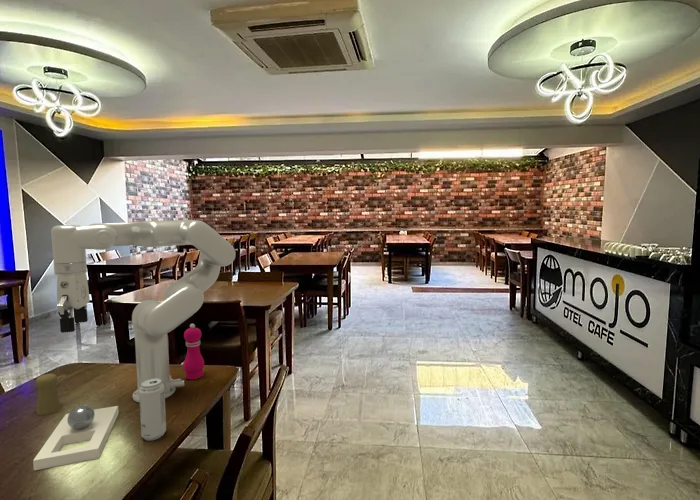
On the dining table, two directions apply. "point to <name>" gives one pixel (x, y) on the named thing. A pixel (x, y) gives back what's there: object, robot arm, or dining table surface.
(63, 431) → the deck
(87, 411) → the ball
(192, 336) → the pepper mill
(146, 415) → the energy drink can
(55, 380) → the cork
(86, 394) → the dining table surface
